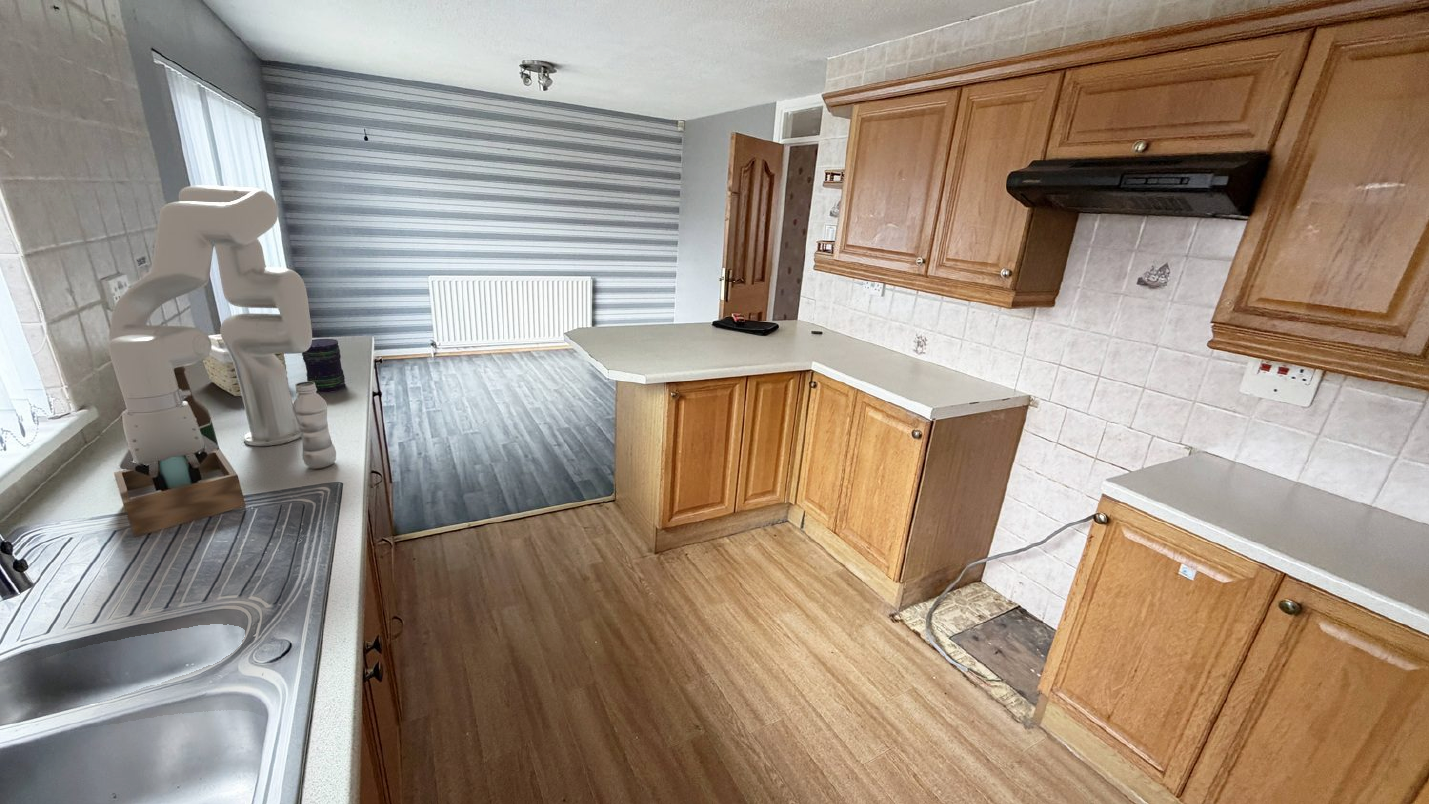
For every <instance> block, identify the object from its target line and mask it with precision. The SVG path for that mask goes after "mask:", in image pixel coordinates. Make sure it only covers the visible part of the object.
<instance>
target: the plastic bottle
mask: <svg viewBox="0 0 1429 804" xmlns="http://www.w3.org/2000/svg"><path fill="white" fill-rule="evenodd" d="M316 391H317V388H316V386H315V382H312V381H307V380H306V381H300V382H297V383H296V384H295V392H296V394H297V397H296V398H295V400H294V401H293V402H292V403H293V408H292V409H293V412H294V415H295V417H296V420H297V422H298V425H299V429H300V433H301V437H300V438H301V445H302V449H301V450H302V451H301V452H302V454H301V455H302V461H303V462H304V465H305V466H306V467H308V468H310V469H313V470H314V469H316V470H317V469H323V468H327V467H329V466H331V465H333V464H334V463H335V461H336V460H337V451H336V448H335V446H334V444H333V441H332V437H331V435H330V431H329V422H328V406H327V402H326V400H325V399H324V398H323V397H322V396H321V395H320V394H319V393H316Z"/></svg>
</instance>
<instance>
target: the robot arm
mask: <svg viewBox="0 0 1429 804" xmlns="http://www.w3.org/2000/svg"><path fill="white" fill-rule="evenodd" d="M278 217H279V208H278V203H276V200H275V198H274V197H273V196H272V195H271V194H270V193H269V192H267V191H265V190H263V189H259V188H254V187H239V186H238V187H237V186H236V187H235V186H223V185H221V186H220V185H208V184H207V185H206V184H205V185H189V186H185V187H183V188H182V189H180V191H179V193H178V201H173V202H169V203H166V204H165V205H164V206H163V207H162V208H161V209H160V212H159V215H158V220H157V221H158V222H157V226H156V235H155V240H154V247H153V255H152V258H151V259H152V260H151V267H150V269H149V271H148V273H146V274H145V275H144V276H142V277H141V278H139V279H138V280H137V281H136V282H135V283H133V284H132V285H131V286H130V287H129V288H127V290H126V291H125V292H124V293H123V295H121V296H120V298H119V299H118V300H117V302H116V303H115V306H114V307H113V310H112V315H111V321H110V327H109V333H108V341H109V342H108V344H107V350H108V354H109V357H110V360H111V363H112V366H113V369H114V373H115V376H116V379H117V382H118V385H119V388H120V391H121V393H122V397H123V400H124V403H125V408H126V409H125V410H123V411H122V413H121V414H122V415H121V416H122V417H121V418H122V427H123V431H124V436H125V441H126V444H127V450H126V451H125V453H124V455H123V457H122V458H121V459H120V461H119V463H118V466H119V468H120V469H121V470H132V471H137V472H140V473H142V474H145V475H148V476H150V477H152V480H153V483H154V486H155V489H156V491H159V490H161V491H165V490H167V489H166V486H165V482H164V479H163V476H162V475H161V472H159V470H158V461H162V460H165V459H168V458H170V457H179V456H186V457H187V459H188V460H189V463H188V467H189V471H190V475H191V478H192V482H193V484H194V483H198V481H200V480H202V478H201V474H200V471H199V466H200V464H201V462H202V461H203V460H204V459H205V458H206V457H207V455H208V454H210V453H211V452H213V451H214V450H215V449H217V447H218V446H219V445H218V446H217V445H216V443H214V442H213V441H211V440H210V439H208V438H207V437H205V436H204V435H202V434H201V432H200V429H199V426H198V423H197V421H196V418H195V416H194V414H193V412H192V409H191V407H190V406H189V404H188V402H186V401H183V400H184V398H187V397H191V392H192V391H191V392H190V390H181V389H179V387H178V384H177V380H176V377H175V373H174V368H177V367H181V366H183V367H186V366H190V365H196V364H198V363H201V362H203V360H204V359H205V358H206V357H207V356H208V355H209V354H210V352H211V348H212V344H211V340H210V338H209V336H210V335H208V334H207V333H206V332H205V331H204V330H202V329H200V328H196V327H193V326H186V325H154V324H153V325H148V324H149V321H150V319H151V317H152V315H153V314H154V312H155V311H156V310H157V309H159V308H160V307H161V306H162V305H164V304H165V303H167V302H170V301H171V300H173V299H176V298H178V297H181V296H184V295H186V294H188V293H192V292H194V291H196V290H199V289H201V288H204V287H205V286H206V285H207V284H208V283H209V281H210V276H211V268H212V267H211V266H212V260H213V254H214V249H215V254H216V257H217V265H218V270H219V276H220V283H221V288H222V293H223V296H224V298H225V300H226V302H227V303H229V304H230V305H232V306H234V307H237V308H249V309H252V308H253V309H278V312H279V313H251V312H250V313H248V312H247V313H238V314H233V315H230V316H228V317H227V318H225V319H224V320H223V321H222V323H221V325H220V329H219V330H220V332H219V333H220V334H221V337H222V340H223V342H224V343H223V344H224V346H225V348H227V350H228V352H229V354H230V356H231V359H232V361H233V364H234V367H235V371H236V375H237V379H238V383H239V387H240V391H241V395H242V396H241V398H242V403H243V407H244V410H245V415H246V418H247V423H248V427H249V430H250V431H249V432H247V433H246V434H244V436H243V440H244V443H245V444H246V445H250V446H252V447H253V446H254V447H267V446H268V447H269V446H277V445H283V444H286V443H289V442H290V443H291V442H292V441H293V442H294V441H295V440H297V439H300V438H302V437H301V433H300V429H299V425H298V422H297V420H296V417H295V415H294V412H293V409H292V408H293V403H294V402H293V398H292V394H291V390H290V385H289V378H288V379H287V377H288V373H287V374H286V371H287V369H286V370H285V367H284V365H283V364H282V362H281V361H280V360H279V359H278V358H277V357H276V356H275V355H274V354H284V355H286V354H287V355H290V354H302V353H303V352H305V351H307V350H308V349H309V348H310V346H311V343H312V340H313V329H312V322H311V316H310V306H309V298H308V292H307V287H306V284H305V281H304V280H303V278H302V277H301V275H300V274H299V273H297V272H296V271H295V270H293V269H291V268H290V269H289V268H287V267H286V268H285V267H268V266H267V264H266V261H265V255H264V250H263V246H262V243H261V242H260V241H259V238H260V237H261V236H263V235H264V234H266V232H268V231H269V230H270V229H272V228H273V227H274V226H275V224H276V223H277V220H278ZM204 445H205V447H204ZM197 452H198V453H197ZM194 453H197V454H196V455H194Z"/></svg>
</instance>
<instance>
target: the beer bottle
mask: <svg viewBox="0 0 1429 804" xmlns="http://www.w3.org/2000/svg"><path fill="white" fill-rule="evenodd" d="M185 371H186V368H185V366H181V367H177V368H174V373H175V377H176V380H177V384H178V387H179V389H181V390H190V392H191V397H187V398H184V400H183V401H186V402H188V404H189V406H190V407H191V409H192V412H193V414H194V416H195V418H196V421H197V423H198V426H199V429H200V432H201V434H202V435H204V436H205V437H207V438H208V439H210V440H211V441H213V442H214V443H216V445H217V446H218V447H217V449H215V450H219V449H220V447H219V441H218V439H217V438H218V437H217V435H216V432H215V427H214V424H213V420H212V417H211V414H210V412H209V411H208V409H207V408H206V407H205V406H204V404H202V403H201V402H200V401H197V400H196V398H195V396H194V394H193V392H192V389H191V387H190V384H189V381H188V378H187V376H186V373H185ZM204 447H205V445H204ZM215 450H214V451H215ZM197 453H198V452H197ZM197 453H194V455H196V454H197ZM185 457H186V456H185Z"/></svg>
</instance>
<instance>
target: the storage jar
mask: <svg viewBox="0 0 1429 804" xmlns="http://www.w3.org/2000/svg"><path fill="white" fill-rule="evenodd" d="M301 356H302V360H303V363H304V365H305V369H306V381H312V382H315V386H316V388H317V391H316V393H317V394H327V393H328V394H329V393H336V392H339V391H342V390H344V389H345V388H346V387H347V384H346V380H345V379H346V377H345V374H344V370H343V367H342V362H341V359H342V357H341V350H340V346H339V340H337V339H334V338H316V339H312V343H311V346H310V348H309V349H308V350H307V351H305V352H303V353H301Z"/></svg>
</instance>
